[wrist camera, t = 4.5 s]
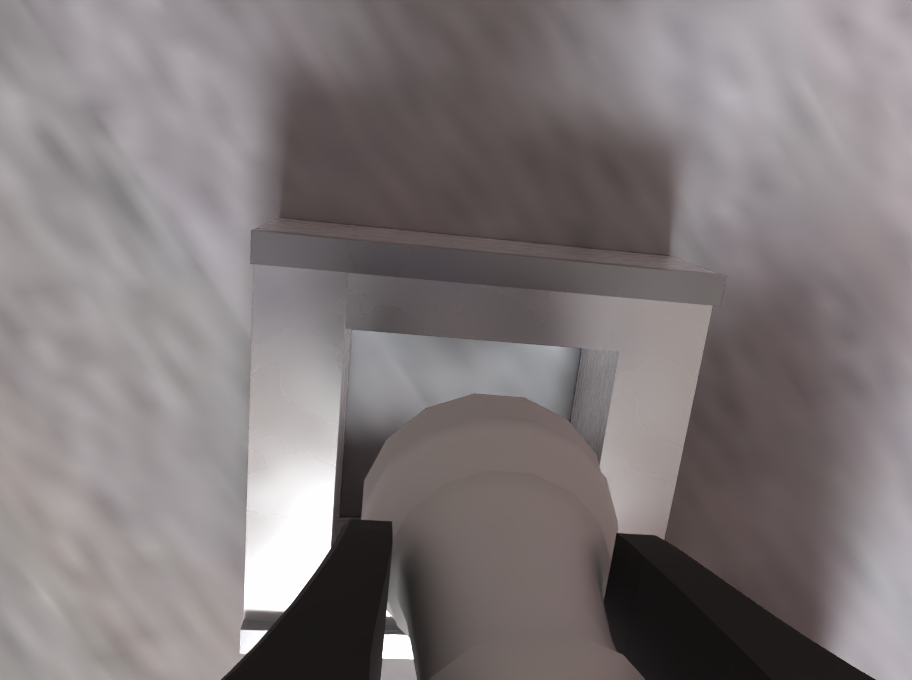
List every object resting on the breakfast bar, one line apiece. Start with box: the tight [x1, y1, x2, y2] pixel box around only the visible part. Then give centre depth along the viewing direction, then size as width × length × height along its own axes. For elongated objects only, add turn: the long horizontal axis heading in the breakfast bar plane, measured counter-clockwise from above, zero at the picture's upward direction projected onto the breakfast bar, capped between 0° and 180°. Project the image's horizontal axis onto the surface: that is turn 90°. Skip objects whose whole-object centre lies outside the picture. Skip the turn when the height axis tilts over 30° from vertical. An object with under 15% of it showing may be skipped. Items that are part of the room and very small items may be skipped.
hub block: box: [240, 218, 727, 659], centre depth 15 cm, size 9×9×3 cm
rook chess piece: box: [361, 394, 645, 680], centre depth 8 cm, size 4×4×8 cm
